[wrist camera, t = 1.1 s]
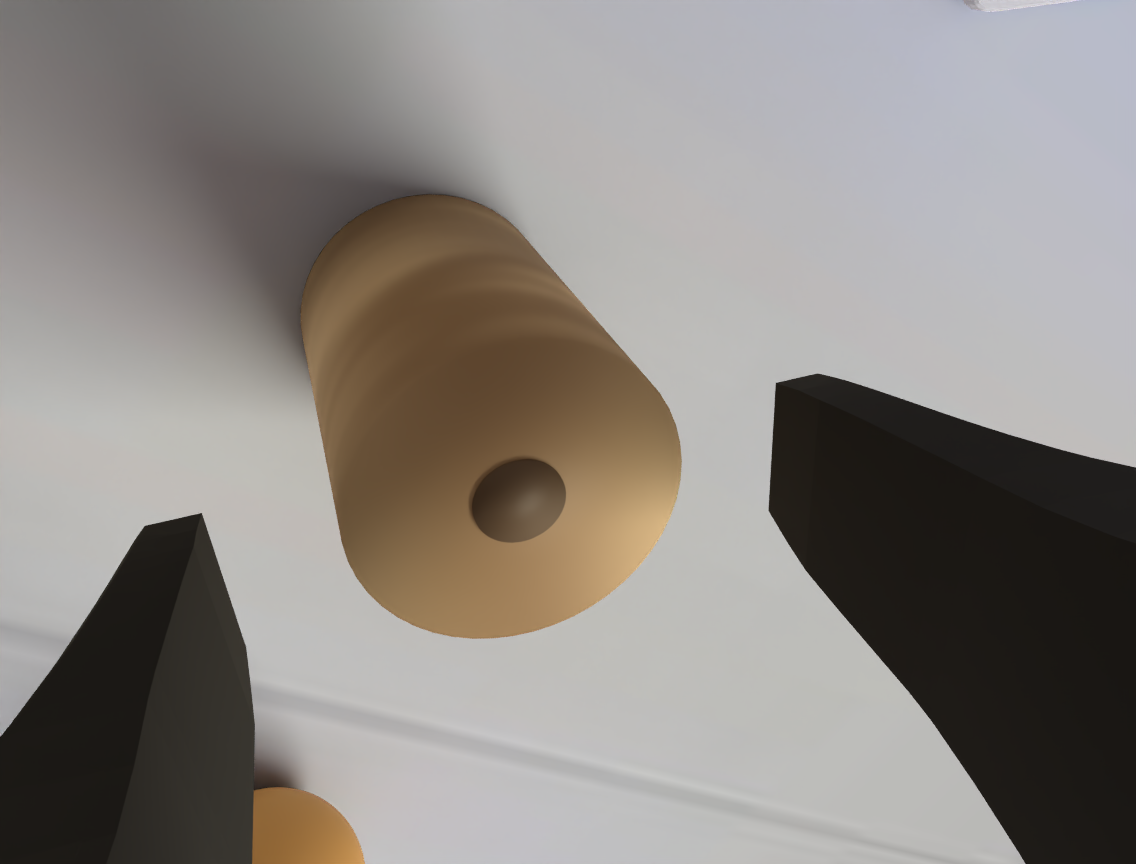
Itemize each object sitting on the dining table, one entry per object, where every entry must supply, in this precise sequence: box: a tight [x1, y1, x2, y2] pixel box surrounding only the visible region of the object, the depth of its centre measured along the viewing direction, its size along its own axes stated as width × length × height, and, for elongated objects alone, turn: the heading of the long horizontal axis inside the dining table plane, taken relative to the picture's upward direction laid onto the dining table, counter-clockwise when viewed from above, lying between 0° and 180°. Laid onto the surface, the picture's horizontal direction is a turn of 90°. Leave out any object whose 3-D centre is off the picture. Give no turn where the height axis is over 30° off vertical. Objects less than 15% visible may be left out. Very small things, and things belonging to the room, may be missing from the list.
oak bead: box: [301, 194, 682, 639], centre depth 14 cm, size 4×4×6 cm
